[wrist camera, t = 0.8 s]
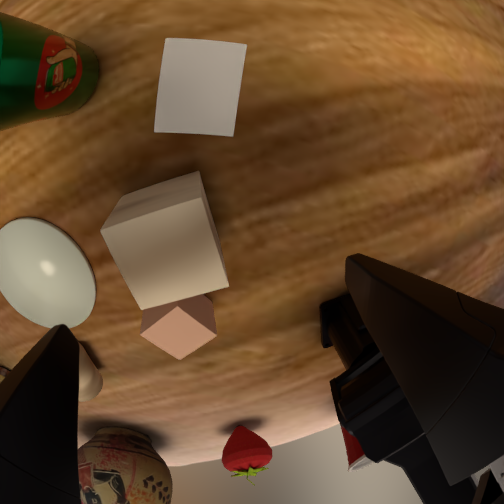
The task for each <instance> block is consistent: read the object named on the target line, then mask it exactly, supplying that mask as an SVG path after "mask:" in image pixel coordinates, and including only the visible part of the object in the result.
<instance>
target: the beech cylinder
mask: <svg viewBox="0 0 504 504" xmlns="http://www.w3.org/2000/svg"><path fill="white" fill-rule="evenodd" d="M79 346H80V354H79V401H89V400H91V399H93V398H94V397H96V396H97V395H98V394H99V392H100V391H101V389H102V386H103V379H102V376H101V374H100V373H99V371H98V370H97V368H96V367H95V365H94V364H93V362H92V361H91V359H90V357H89V356H88V354H87V353H86V351H85V349H84V348H83V346H82V345H81V344H80V343H79Z"/></svg>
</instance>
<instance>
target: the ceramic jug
mask: <svg viewBox="0 0 504 504" xmlns="http://www.w3.org/2000/svg"><path fill="white" fill-rule="evenodd" d="M78 470H79V484H80V494H81V502H82V504H170V503H171V497H172V478H171V474H170V471H169V469H168V467H167V465H166V463H165V461H164V460H163V459H162V458H161V457H160V455H159V454H158V453H157V452H156V451H155V449H154V448H153V446H152V445H151V439H150V438H149V436H147V435H142V434H141V433H139V432H136V431H134V430H130V429H126V428H120V427H105V428H101V429H99V430H98V431H97V433H96V434H95V436H94V437H93V438H92V439H91V440H89V441H88V442H87V443H85V444H84V445H82V446H81V447H80V448H79V449H78Z"/></svg>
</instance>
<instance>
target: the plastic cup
mask: <svg viewBox="0 0 504 504" xmlns="http://www.w3.org/2000/svg"><path fill="white" fill-rule="evenodd" d="M341 429H342V433H343V437H344V441H345V446H346V450H347V456H348V462H349V468H348V471H349V472H353V471H356V470H359V469H362V468H364V467H366V466H368V465H371V464H372V463H374V462H373V461H372V460H370V459H368V458H367V457H366V456H365V454H364V452H363V450H362V448H361V446H360V444H359V442H358V440H357V439H356V437H354V436H352V435H351V434H350V433H348V431H347V430H346V429H345V428H343V427H342V426H341Z"/></svg>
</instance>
